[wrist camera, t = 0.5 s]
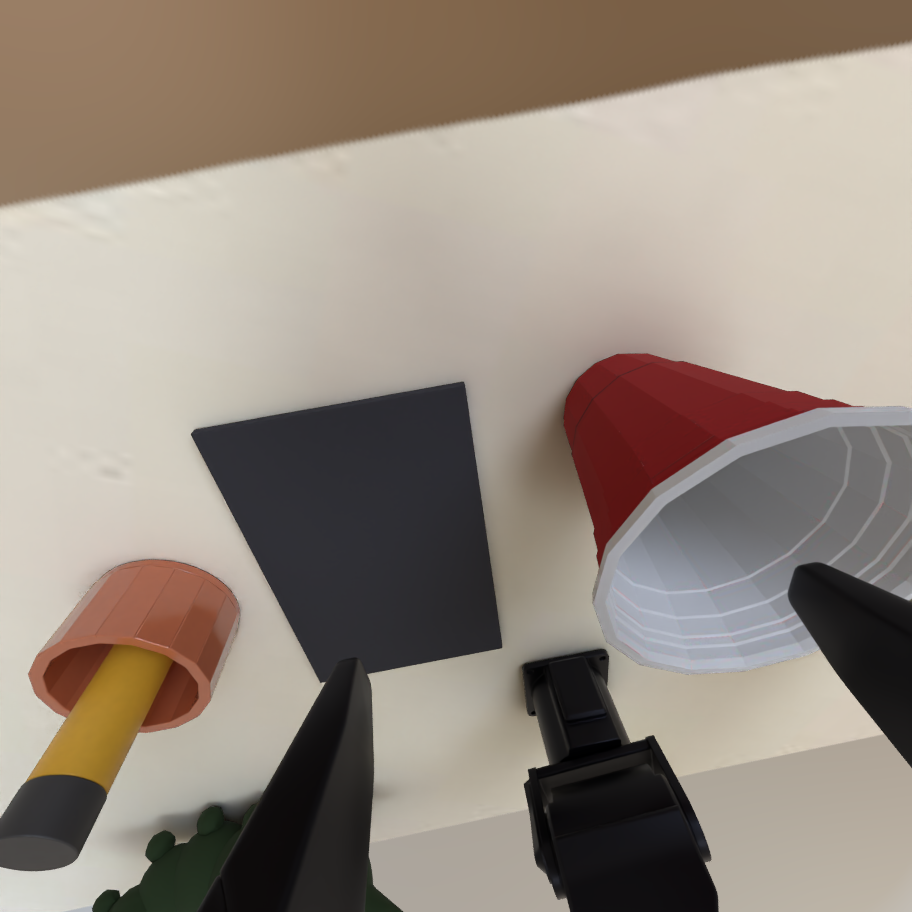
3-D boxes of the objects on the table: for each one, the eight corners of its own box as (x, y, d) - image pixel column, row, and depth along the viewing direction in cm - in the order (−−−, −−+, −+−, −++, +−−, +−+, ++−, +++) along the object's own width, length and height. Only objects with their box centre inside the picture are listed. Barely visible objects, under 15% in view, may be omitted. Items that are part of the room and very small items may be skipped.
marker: (203, 627, 27) (94, 862, 17) (152, 637, 27) (16, 877, 17) (179, 593, 25) (45, 830, 16) (125, 602, 25) (-42, 847, 16)
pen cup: (259, 638, 28) (235, 716, 24) (137, 661, 28) (90, 744, 24) (206, 547, 24) (164, 622, 20) (62, 574, 24) (-12, 655, 20)
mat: (501, 642, 31) (502, 648, 31) (321, 676, 31) (320, 683, 31) (463, 381, 21) (464, 384, 21) (194, 429, 21) (190, 434, 20)
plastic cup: (469, 441, 23) (525, 641, 12) (612, 250, 19) (870, 312, 8) (614, 521, 27) (748, 724, 16) (758, 377, 23) (1054, 526, 12)
